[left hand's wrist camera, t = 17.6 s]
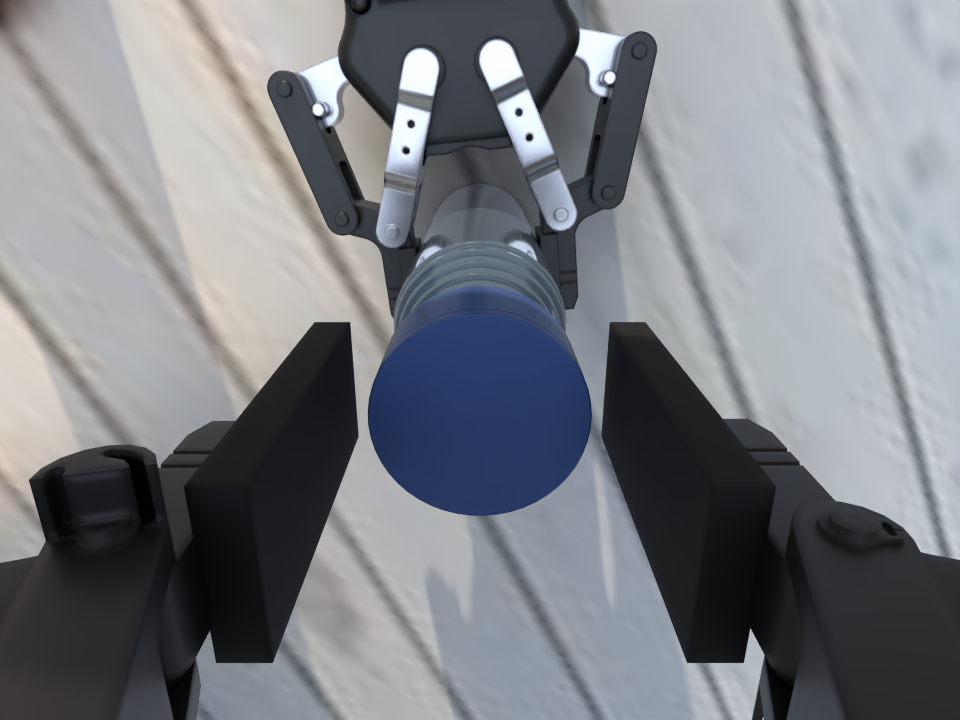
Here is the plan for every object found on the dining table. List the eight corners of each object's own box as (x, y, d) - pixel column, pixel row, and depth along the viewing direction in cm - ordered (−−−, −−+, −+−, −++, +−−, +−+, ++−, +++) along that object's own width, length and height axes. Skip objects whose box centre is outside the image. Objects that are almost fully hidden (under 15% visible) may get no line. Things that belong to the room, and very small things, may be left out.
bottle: (430, 277, 33) (361, 505, 14) (433, 180, 31) (359, 285, 12) (523, 282, 33) (585, 516, 14) (531, 186, 31) (614, 299, 12)
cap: (590, 294, 14) (608, 323, 12) (563, 471, 15) (575, 523, 13) (386, 276, 13) (370, 303, 12) (379, 457, 15) (364, 508, 13)
